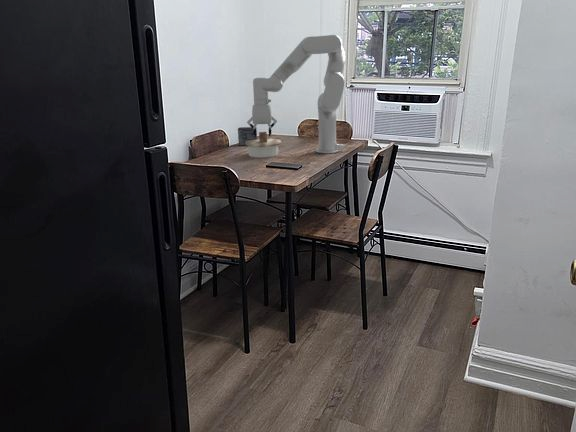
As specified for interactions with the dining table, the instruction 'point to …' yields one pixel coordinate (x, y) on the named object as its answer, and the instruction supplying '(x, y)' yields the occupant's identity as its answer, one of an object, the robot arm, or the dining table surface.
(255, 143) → the lid
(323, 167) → the dining table surface
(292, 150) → the dining table surface
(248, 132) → the small box
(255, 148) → the bowl
